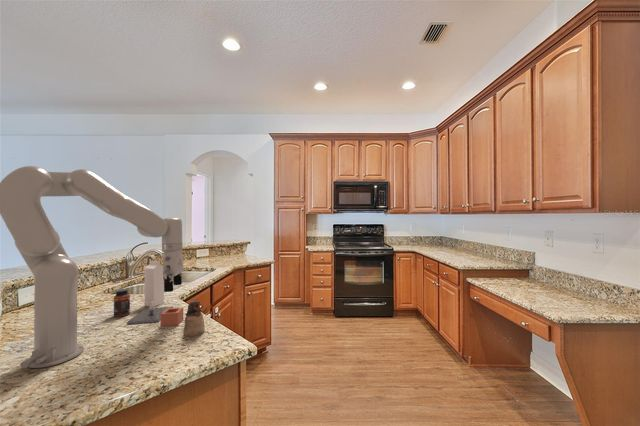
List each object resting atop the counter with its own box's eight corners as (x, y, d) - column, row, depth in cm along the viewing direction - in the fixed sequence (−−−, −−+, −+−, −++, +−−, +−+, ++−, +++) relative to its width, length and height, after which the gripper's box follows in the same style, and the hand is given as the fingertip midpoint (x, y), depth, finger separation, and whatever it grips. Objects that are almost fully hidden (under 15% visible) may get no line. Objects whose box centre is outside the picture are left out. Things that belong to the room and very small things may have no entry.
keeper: (158, 321, 109) (158, 306, 109) (127, 324, 107) (127, 309, 107) (173, 308, 125) (173, 295, 125) (145, 310, 123) (145, 297, 123)
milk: (155, 302, 135) (155, 259, 136) (164, 303, 133) (164, 260, 134) (144, 305, 129) (144, 261, 130) (153, 306, 128) (153, 262, 128)
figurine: (197, 327, 103) (197, 297, 103) (208, 331, 100) (208, 299, 100) (179, 334, 97) (179, 302, 97) (190, 338, 93) (190, 305, 94)
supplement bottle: (133, 312, 120) (133, 288, 120) (122, 317, 114) (122, 292, 114) (121, 312, 120) (121, 288, 121) (110, 317, 115) (110, 291, 115)
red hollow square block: (177, 325, 105) (177, 312, 106) (160, 326, 104) (160, 314, 104) (183, 318, 112) (183, 307, 112) (167, 320, 111) (167, 308, 111)
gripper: (174, 249, 101) (175, 293, 101) (188, 244, 118) (189, 282, 118) (153, 250, 99) (154, 295, 99) (170, 245, 117) (171, 283, 116)
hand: (173, 288), depth 109 cm, fingers open, 9 cm apart
